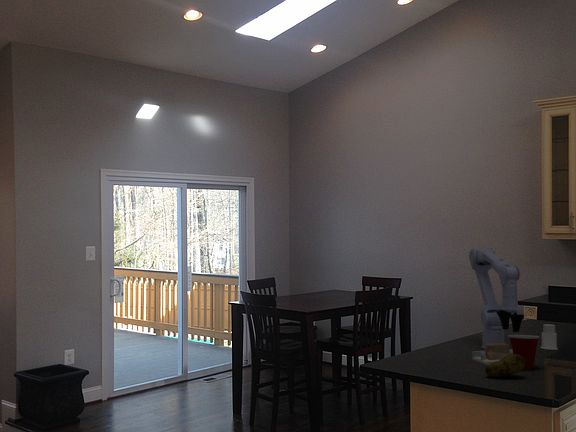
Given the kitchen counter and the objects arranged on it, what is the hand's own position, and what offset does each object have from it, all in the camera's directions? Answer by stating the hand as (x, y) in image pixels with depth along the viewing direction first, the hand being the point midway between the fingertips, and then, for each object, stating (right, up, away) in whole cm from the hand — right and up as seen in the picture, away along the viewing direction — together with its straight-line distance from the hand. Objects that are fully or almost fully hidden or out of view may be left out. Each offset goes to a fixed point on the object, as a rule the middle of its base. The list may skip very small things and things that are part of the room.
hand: (510, 330), depth 255 cm
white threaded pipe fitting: (+21, -10, +13) cm, 27 cm away
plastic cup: (-3, -10, -23) cm, 25 cm away
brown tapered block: (-9, -9, -11) cm, 16 cm away
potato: (-15, -10, -37) cm, 41 cm away
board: (-7, -10, -9) cm, 15 cm away
